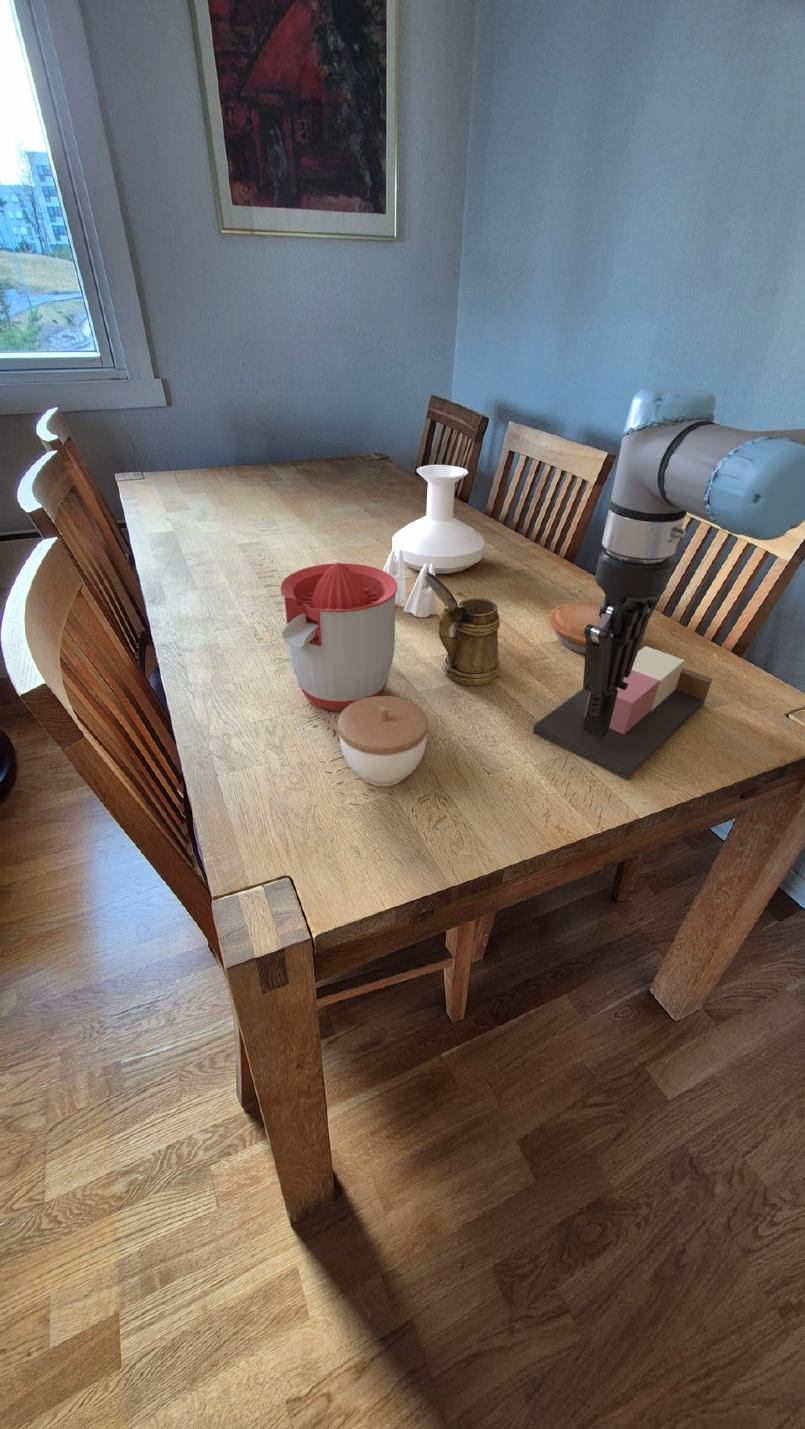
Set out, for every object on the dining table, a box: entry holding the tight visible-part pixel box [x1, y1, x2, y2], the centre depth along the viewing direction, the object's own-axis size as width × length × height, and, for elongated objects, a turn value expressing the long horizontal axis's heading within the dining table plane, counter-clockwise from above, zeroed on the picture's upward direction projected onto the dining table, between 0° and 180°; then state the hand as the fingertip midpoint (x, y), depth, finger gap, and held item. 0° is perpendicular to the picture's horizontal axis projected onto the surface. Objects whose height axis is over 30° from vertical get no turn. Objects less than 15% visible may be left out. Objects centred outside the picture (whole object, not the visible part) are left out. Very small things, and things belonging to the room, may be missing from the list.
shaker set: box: [382, 549, 438, 618], centre depth 114 cm, size 12×4×11 cm, turn 60°
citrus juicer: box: [279, 562, 398, 712], centre depth 87 cm, size 16×17×20 cm
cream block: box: [632, 645, 686, 711], centre depth 91 cm, size 6×8×5 cm
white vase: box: [392, 464, 486, 574], centre depth 131 cm, size 20×20×19 cm
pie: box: [548, 600, 602, 655], centre depth 107 cm, size 15×16×5 cm
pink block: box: [584, 670, 659, 734], centre depth 86 cm, size 6×8×5 cm
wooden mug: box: [425, 572, 501, 687], centre depth 93 cm, size 9×14×18 cm, turn 118°
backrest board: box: [532, 667, 713, 781], centre depth 88 cm, size 14×24×4 cm, turn 137°
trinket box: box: [337, 695, 429, 787], centre depth 76 cm, size 11×11×9 cm
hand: (595, 731), depth 80 cm, fingers closed
